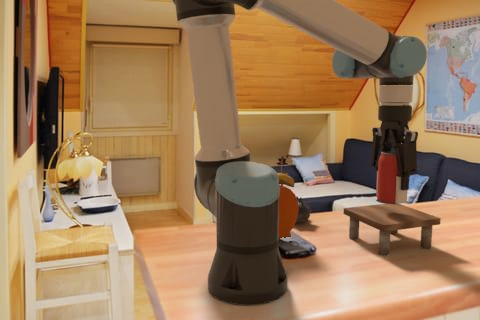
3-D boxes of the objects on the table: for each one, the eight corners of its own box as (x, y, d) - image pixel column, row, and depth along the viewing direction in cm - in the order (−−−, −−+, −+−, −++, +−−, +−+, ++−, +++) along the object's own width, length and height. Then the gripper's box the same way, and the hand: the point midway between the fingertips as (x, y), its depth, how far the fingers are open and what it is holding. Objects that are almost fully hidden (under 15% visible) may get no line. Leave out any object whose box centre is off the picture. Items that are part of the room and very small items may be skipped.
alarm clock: (283, 233, 121) (284, 158, 118) (298, 240, 116) (300, 161, 113) (241, 243, 113) (240, 163, 110) (255, 250, 108) (255, 166, 105)
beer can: (407, 205, 108) (409, 154, 106) (378, 204, 110) (380, 154, 108) (403, 198, 115) (405, 150, 113) (375, 197, 116) (377, 150, 114)
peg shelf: (382, 257, 103) (383, 225, 102) (342, 236, 118) (343, 208, 117) (438, 248, 109) (440, 218, 108) (394, 229, 124) (395, 202, 123)
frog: (294, 229, 124) (295, 201, 123) (267, 219, 134) (267, 193, 133) (320, 223, 130) (321, 196, 129) (292, 214, 140) (292, 189, 139)
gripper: (438, 105, 101) (432, 207, 104) (382, 102, 119) (378, 190, 122) (411, 105, 98) (405, 210, 102) (357, 103, 116) (354, 192, 120)
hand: (390, 199), depth 112 cm, fingers closed on beer can, 7 cm apart
